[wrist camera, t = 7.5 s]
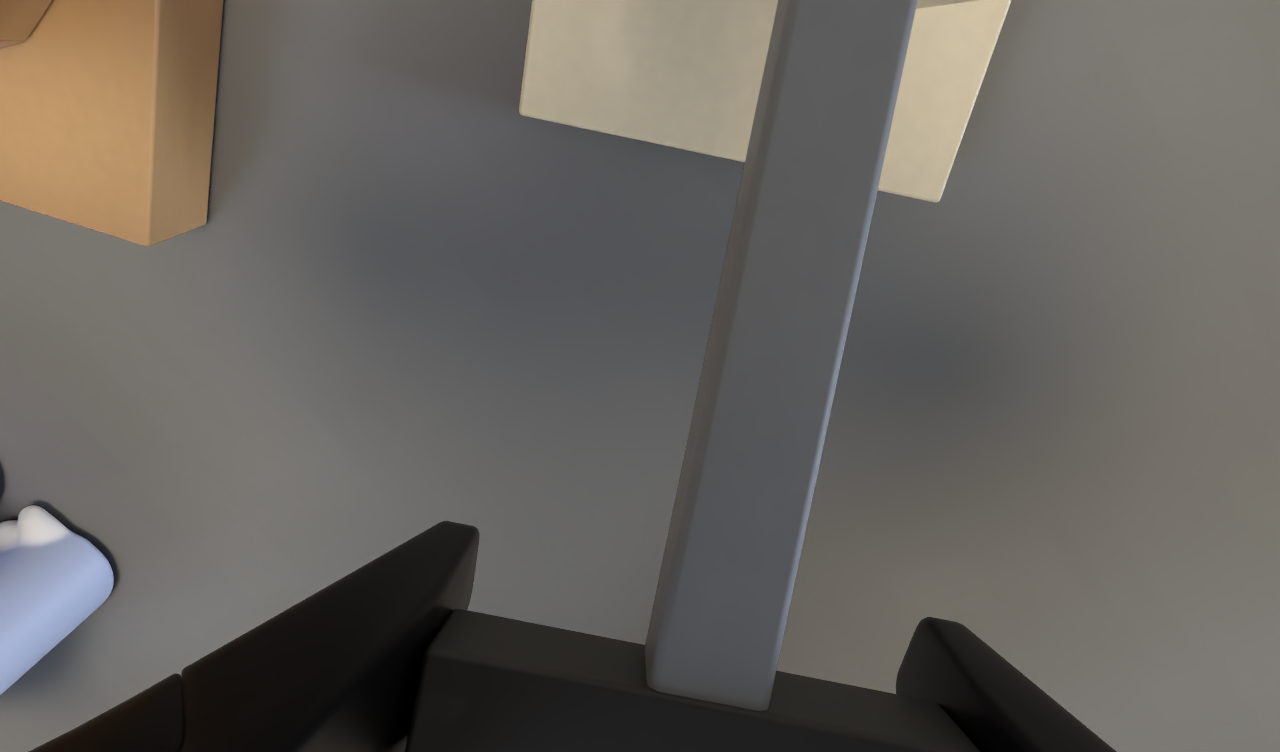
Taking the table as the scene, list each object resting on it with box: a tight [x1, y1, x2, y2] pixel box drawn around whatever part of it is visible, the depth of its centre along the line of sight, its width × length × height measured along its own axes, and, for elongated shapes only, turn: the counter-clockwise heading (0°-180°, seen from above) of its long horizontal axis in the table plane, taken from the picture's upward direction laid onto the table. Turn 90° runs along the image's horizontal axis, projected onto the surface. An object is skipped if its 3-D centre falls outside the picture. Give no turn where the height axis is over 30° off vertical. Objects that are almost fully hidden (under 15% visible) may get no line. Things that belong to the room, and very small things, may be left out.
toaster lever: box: [405, 0, 981, 752], centre depth 7 cm, size 12×5×2 cm, turn 169°
